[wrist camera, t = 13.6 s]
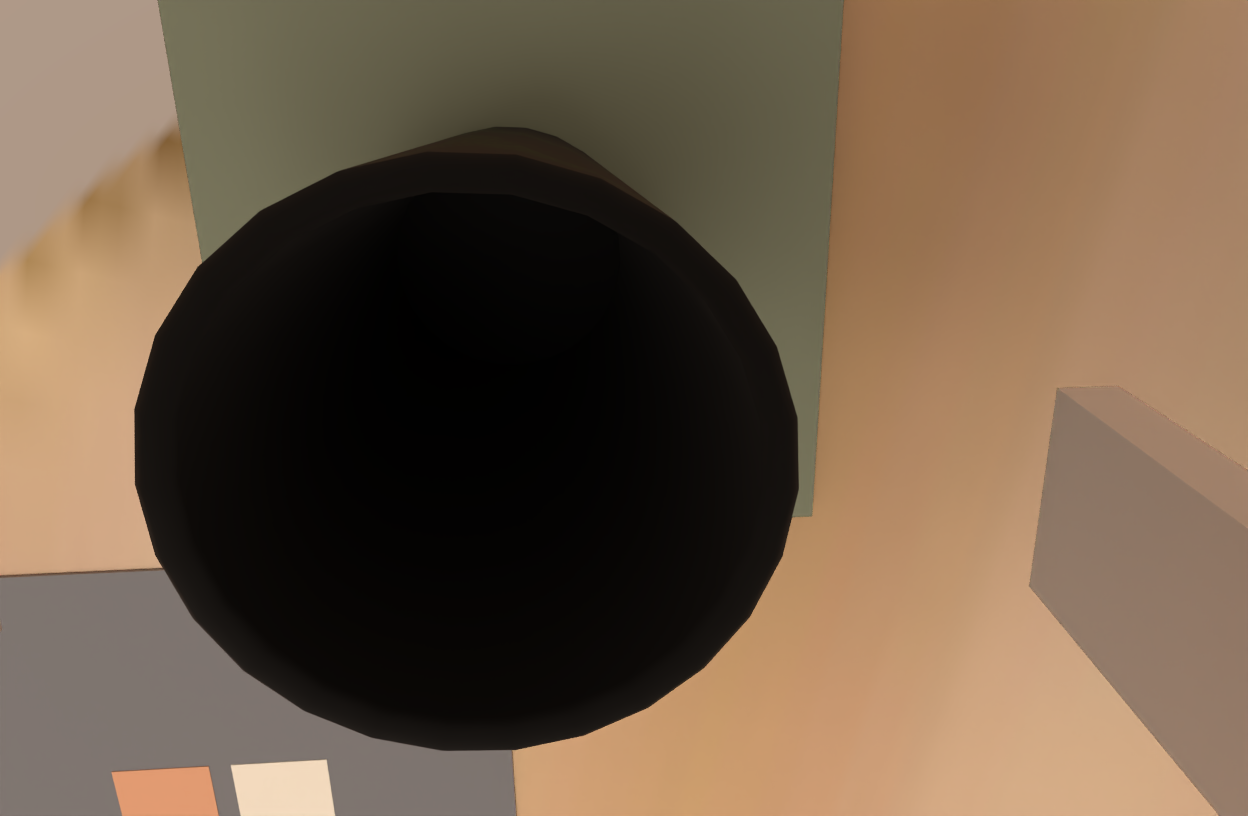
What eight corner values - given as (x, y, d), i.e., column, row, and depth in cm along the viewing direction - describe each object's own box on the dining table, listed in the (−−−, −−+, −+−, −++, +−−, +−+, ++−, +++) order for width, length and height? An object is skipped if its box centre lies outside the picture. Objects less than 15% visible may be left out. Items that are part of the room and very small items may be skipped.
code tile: (500, 535, 27) (498, 555, 26) (528, 970, 33) (528, 998, 32) (-125, 564, 26) (-150, 585, 25) (20, 1006, 32) (4, 1037, 31)
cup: (749, 246, 23) (933, 472, 12) (524, 472, 25) (504, 850, 14) (493, -7, 21) (431, -15, 10) (264, 261, 23) (-10, 512, 12)
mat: (841, -95, 21) (849, -97, 21) (806, 505, 27) (812, 516, 26) (152, -89, 21) (142, -91, 20) (256, 529, 26) (249, 541, 25)
